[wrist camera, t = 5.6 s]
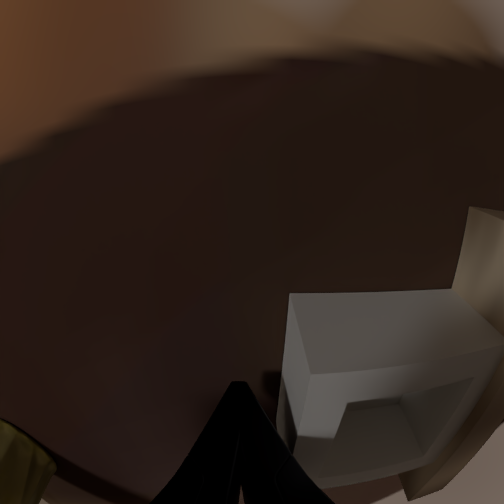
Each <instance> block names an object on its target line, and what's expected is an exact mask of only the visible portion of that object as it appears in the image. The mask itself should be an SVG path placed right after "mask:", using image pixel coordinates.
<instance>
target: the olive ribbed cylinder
mask: <svg viewBox="0 0 504 504" xmlns="http://www.w3.org/2000/svg"><path fill="white" fill-rule="evenodd" d="M56 470H57V466H56V463H55V461H54V460H53V458H52V457H51V456H50V455H49V453H48V452H47V451H46V450H44V449H43V448H42V447H41V446H40V445H39V444H38V443H37V442H36V441H34V440H33V439H32V438H31V437H29V436H28V435H27V434H25V433H24V432H23V431H21V430H20V429H18V428H17V427H15V426H13V425H12V424H10V423H8V422H6V421H4V420H2V419H0V504H39V502H40V500H41V498H42V496H43V494H44V492H45V489H46V487H47V485H48V483H49V481H50V479H51V477H52V476H53V474H54V473H55V472H56Z"/></svg>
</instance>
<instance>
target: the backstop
mask: <svg viewBox="0 0 504 504" xmlns="http://www.w3.org/2000/svg"><path fill="white" fill-rule="evenodd" d="M451 289H452V290H453V291H455V292H456V293H457V294H458V295H459V296H460V297H461V298H463V299H464V300H465V301H466V302H467V303H468V304H469V305H470V306H472V307H473V308H474V309H475V310H476V311H477V312H478V313H479V314H480V315H481V316H483V317H484V318H485V319H486V320H487V321H488V322H489V323H490V324H491V325H492V326H493V327H494V328H495V329H496V330H497V331H498V332H499V333H500V334H501V335H502V336H503V337H504V212H503V211H497V210H491V209H484V208H478V207H471V206H469V211H468V217H467V223H466V229H465V234H464V239H463V244H462V248H461V253H460V257H459V262H458V266H457V270H456V274H455V277H454V281H453V285H452V288H451ZM503 419H504V355H503V357H502V359H501V361H500V363H499V365H498V367H497V369H496V371H495V372H494V374H493V376H492V378H491V380H490V382H489V383H488V385H487V387H486V389H485V390H484V392H483V394H482V395H481V397H480V399H479V400H478V402H477V404H476V405H475V407H474V408H473V410H472V411H471V413H470V414H469V416H468V417H467V419H466V420H465V422H464V423H463V425H462V426H461V428H460V429H459V430H458V432H457V433H456V435H455V436H454V437H453V439H452V440H451V441H450V443H449V444H448V445H447V447H446V448H445V449H444V450H443V452H442V453H441V454H440V455H439V457H438V458H437V459H436V460H435V461H434V463H431V464H428V465H425V466H422V467H419V468H416V469H413V470H409V471H406V472H402V473H399V474H398V475H399V478H400V480H401V483H402V486H403V489H404V492H405V494H406V497H407V500H408V501H411V500H414V499H417V498H420V497H423V496H425V495H428V494H431V493H434V492H436V491H439V490H441V489H443V488H444V487H445V486H446V485H447V484H448V483H449V482H450V481H451V480H452V479H453V478H454V477H455V476H456V475H457V474H458V473H459V472H460V471H461V470H462V469H463V468H464V466H465V465H466V464H467V463H468V462H469V461H470V460H471V459H472V458H473V457H474V455H475V454H476V453H477V452H478V451H479V450H480V448H481V447H482V446H483V445H484V444H485V442H486V441H487V440H488V439H489V437H490V436H491V435H492V434H493V432H494V431H495V430H496V428H497V427H498V426H499V424H500V423H501V422H502V420H503Z"/></svg>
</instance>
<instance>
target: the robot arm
mask: <svg viewBox="0 0 504 504" xmlns="http://www.w3.org/2000/svg"><path fill="white" fill-rule="evenodd" d="M241 487H242V492H243V498H244V503H245V504H335V503H334V502H333V501H332V500H331V499H330V498H329V497H328V496H327V495H326V494H325V493H324V492H323V491H322V490H321V489H320V488H319V487H318V486H317V485H316V484H315V483H314V482H313V481H312V480H311V478H310V477H309V476H308V475H307V474H306V472H305V471H304V470H303V468H302V467H301V466H300V464H299V463H298V462H297V460H296V459H295V457H294V456H293V455H292V453H291V452H290V450H289V449H288V447H287V446H286V444H285V443H284V441H283V439H282V438H281V436H280V435H279V433H278V432H277V430H276V429H275V427H274V426H273V424H272V422H271V421H270V419H269V418H268V416H267V415H266V413H265V411H264V410H263V408H262V407H261V405H260V403H259V402H258V400H257V399H256V397H255V395H254V394H253V392H252V390H251V389H250V387H249V385H248V384H247V382H245V381H232V382H231V383H230V385H229V387H228V388H227V390H226V392H225V393H224V395H223V397H222V399H221V400H220V402H219V404H218V405H217V407H216V409H215V411H214V412H213V414H212V416H211V417H210V419H209V421H208V422H207V424H206V426H205V427H204V429H203V431H202V432H201V434H200V436H199V437H198V439H197V441H196V442H195V444H194V446H193V447H192V449H191V450H190V452H189V454H188V456H187V457H186V458H185V460H184V461H183V463H182V465H181V466H180V468H179V469H178V470H177V472H176V473H175V475H174V476H173V477H172V479H171V480H170V481H169V482H168V484H167V485H166V486H165V487H164V488H163V489H162V490H161V492H160V493H159V494H158V495H157V496H156V497H155V498H154V499H153V500H152V501H151V502H150V504H239V496H240V488H241Z"/></svg>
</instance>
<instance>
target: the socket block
mask: <svg viewBox="0 0 504 504" xmlns="http://www.w3.org/2000/svg"><path fill="white" fill-rule="evenodd" d="M503 355H504V337H503V336H502V335H501V334H500V333H499V332H498V331H497V330H496V329H495V328H494V327H493V326H492V325H491V324H490V323H489V322H488V321H487V320H486V319H485V318H484V317H483V316H481V315H480V314H479V313H478V312H477V311H476V310H475V309H474V308H473V307H472V306H470V305H469V304H468V303H467V302H466V301H465V300H464V299H463V298H461V297H460V296H459V295H458V294H457V293H456V292H455V291H453V290H452V289H438V290H418V291H393V292H360V293H290V295H289V307H288V317H287V328H286V338H285V348H284V357H283V366H282V375H281V384H280V392H279V400H278V408H277V416H276V426H277V432H278V433H279V435H280V436H281V438H282V439H283V441H284V443H285V444H286V446H287V447H288V449H289V450H290V452H291V453H292V455H293V456H294V457H295V459H296V460H297V462H298V463H299V464H300V466H301V467H302V468H303V470H304V471H305V472H306V474H307V475H308V476H309V477H310V478H311V480H312V481H313V482H314V483H315V484H316V485H317V486H318V487H319V488H320V489H324V488H331V487H338V486H344V485H350V484H355V483H361V482H365V481H370V480H375V479H379V478H383V477H387V476H391V475H395V474H399V473H402V472H406V471H409V470H413V469H416V468H419V467H422V466H425V465H428V464H431V463H434V461H435V460H436V459H437V458H438V457H439V455H440V454H441V453H442V452H443V450H444V449H445V448H446V447H447V445H448V444H449V443H450V441H451V440H452V439H453V437H454V436H455V435H456V433H457V432H458V430H459V429H460V428H461V426H462V425H463V423H464V422H465V420H466V419H467V417H468V416H469V414H470V413H471V411H472V410H473V408H474V407H475V405H476V404H477V402H478V400H479V399H480V397H481V395H482V394H483V392H484V390H485V389H486V387H487V385H488V383H489V382H490V380H491V378H492V376H493V374H494V372H495V371H496V369H497V367H498V365H499V363H500V361H501V359H502V357H503Z"/></svg>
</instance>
